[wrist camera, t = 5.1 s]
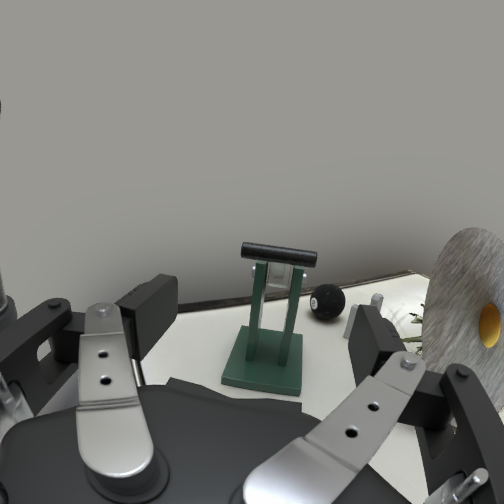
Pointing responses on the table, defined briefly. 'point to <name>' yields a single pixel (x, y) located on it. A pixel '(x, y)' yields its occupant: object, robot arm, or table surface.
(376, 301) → the grey tape dispenser
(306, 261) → the switch lever
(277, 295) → the table surface
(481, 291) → the upside-down potted plant
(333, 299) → the billiard ball
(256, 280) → the switch bracket
